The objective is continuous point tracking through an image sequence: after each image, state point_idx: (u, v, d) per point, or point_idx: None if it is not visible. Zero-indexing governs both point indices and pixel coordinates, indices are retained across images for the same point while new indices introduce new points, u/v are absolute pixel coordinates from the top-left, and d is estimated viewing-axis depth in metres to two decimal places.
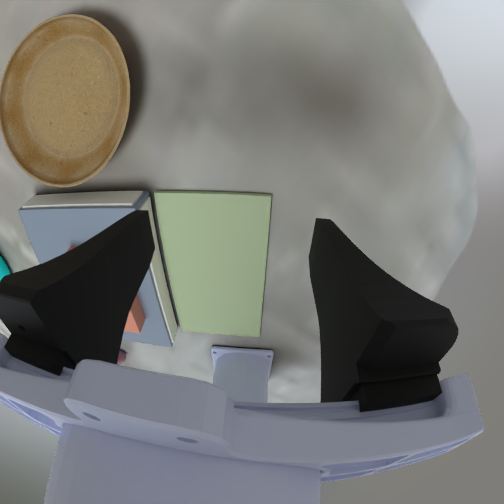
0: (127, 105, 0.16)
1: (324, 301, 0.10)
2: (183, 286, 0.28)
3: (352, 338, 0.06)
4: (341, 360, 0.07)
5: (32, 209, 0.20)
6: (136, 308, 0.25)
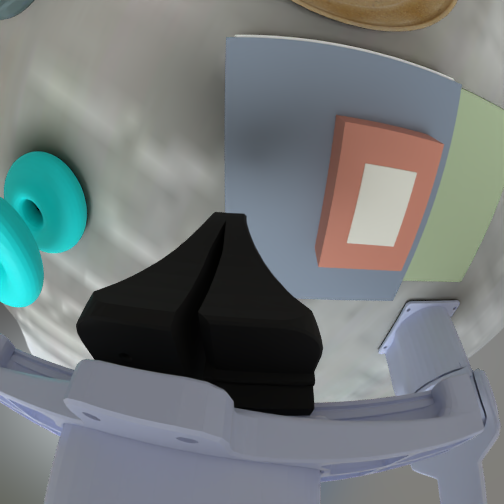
0: None
1: None
2: None
3: None
4: None
5: (272, 38, 0.11)
6: None
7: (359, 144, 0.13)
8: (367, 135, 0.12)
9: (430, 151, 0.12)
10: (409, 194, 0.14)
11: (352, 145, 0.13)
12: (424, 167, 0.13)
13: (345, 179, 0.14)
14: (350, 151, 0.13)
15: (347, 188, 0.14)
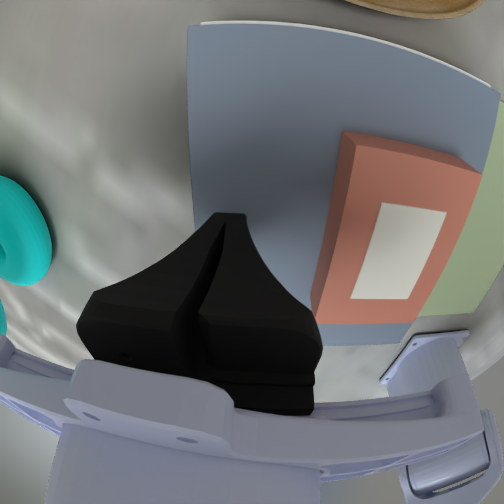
0: None
1: None
2: None
3: None
4: None
5: (252, 24, 0.08)
6: None
7: (375, 177, 0.09)
8: (387, 164, 0.09)
9: (465, 184, 0.09)
10: (434, 239, 0.10)
11: (365, 178, 0.09)
12: (456, 205, 0.09)
13: (353, 224, 0.10)
14: (362, 186, 0.09)
15: (355, 235, 0.10)
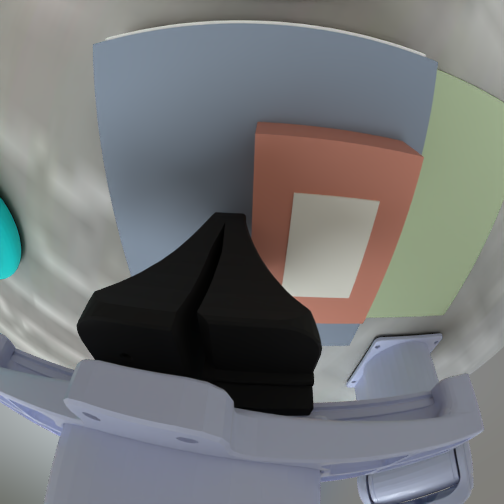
0: None
1: None
2: (401, 236, 0.16)
3: None
4: None
5: (143, 32, 0.08)
6: None
7: (281, 166, 0.09)
8: (293, 151, 0.09)
9: (401, 168, 0.09)
10: (368, 232, 0.10)
11: (270, 168, 0.09)
12: (392, 193, 0.09)
13: (266, 216, 0.10)
14: (268, 177, 0.09)
15: (270, 228, 0.10)
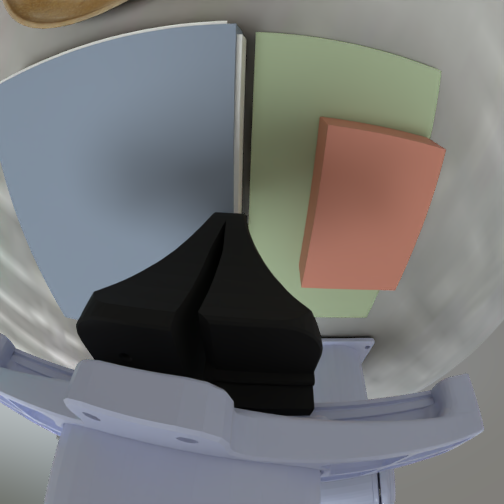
0: None
1: None
2: (272, 226, 0.16)
3: None
4: None
5: (11, 77, 0.08)
6: (306, 238, 0.15)
7: None
8: None
9: None
10: None
11: None
12: None
13: None
14: None
15: None
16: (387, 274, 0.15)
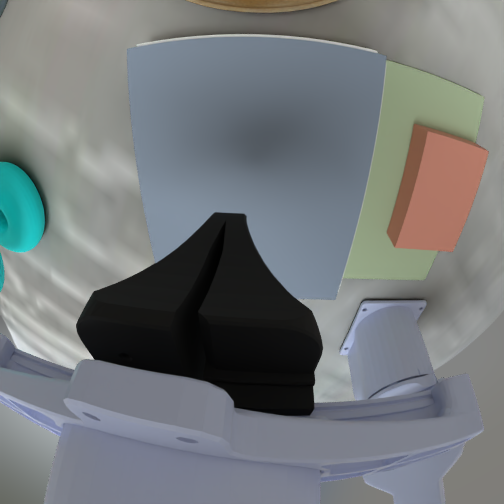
0: None
1: None
2: (373, 201, 0.19)
3: None
4: None
5: (166, 42, 0.11)
6: (400, 210, 0.18)
7: None
8: None
9: None
10: None
11: None
12: None
13: None
14: None
15: None
16: (449, 238, 0.18)
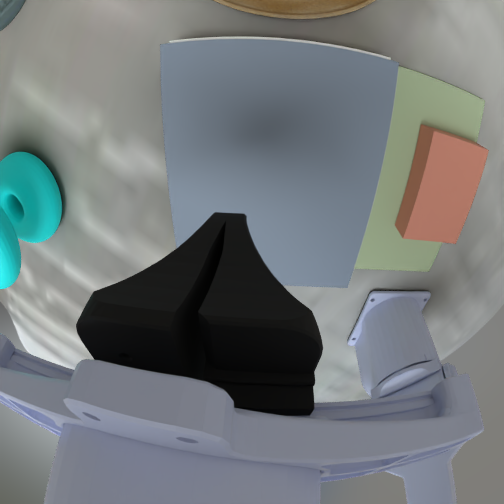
0: None
1: None
2: (383, 195, 0.20)
3: None
4: None
5: (199, 40, 0.12)
6: (408, 203, 0.19)
7: None
8: None
9: None
10: None
11: None
12: None
13: None
14: None
15: None
16: (452, 231, 0.19)
